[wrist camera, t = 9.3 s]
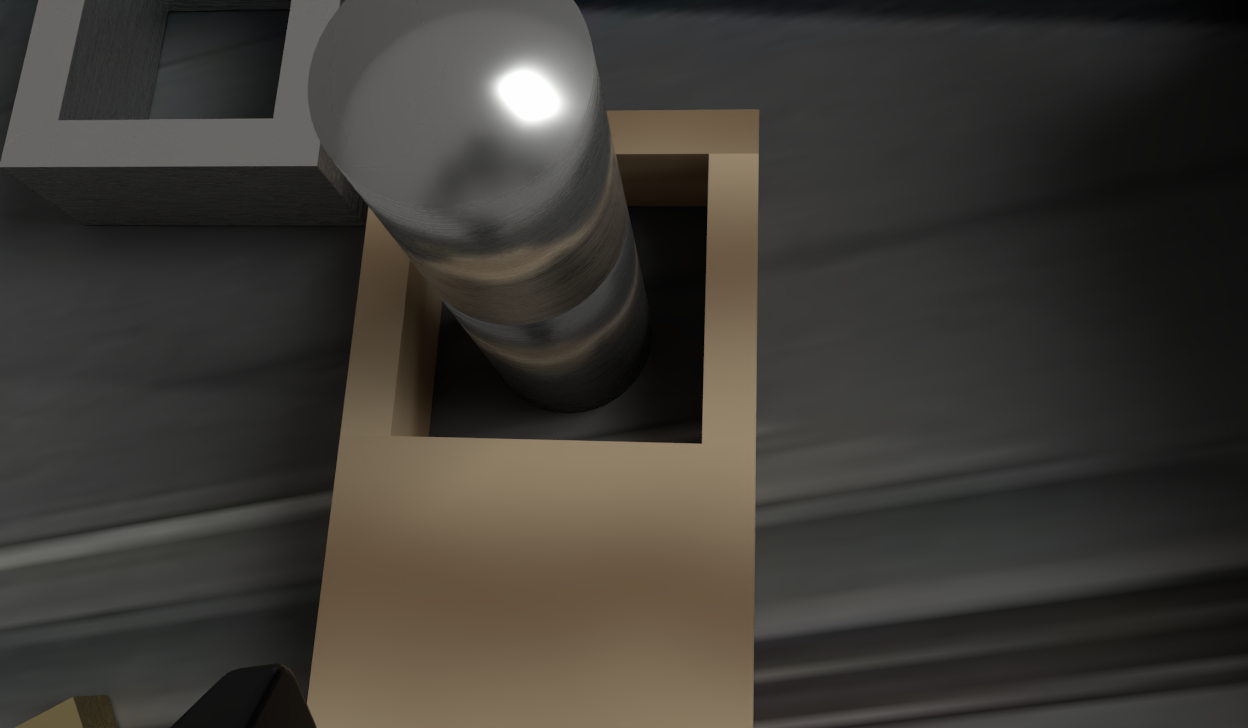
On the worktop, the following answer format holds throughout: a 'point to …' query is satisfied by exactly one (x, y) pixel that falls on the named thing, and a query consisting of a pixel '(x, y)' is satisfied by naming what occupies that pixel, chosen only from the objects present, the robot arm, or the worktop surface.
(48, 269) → the worktop surface
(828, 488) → the worktop surface
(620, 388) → the tin canister
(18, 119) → the socket block
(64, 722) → the bar
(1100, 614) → the worktop surface
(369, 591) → the wooden box
